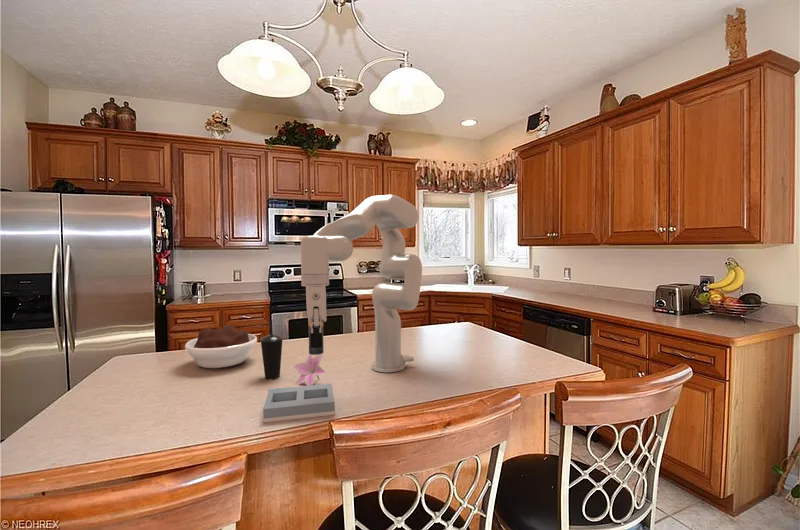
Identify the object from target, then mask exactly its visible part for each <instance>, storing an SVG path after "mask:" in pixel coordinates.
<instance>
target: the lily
mask: <svg viewBox="0 0 800 530" xmlns="http://www.w3.org/2000/svg"><path fill="white" fill-rule="evenodd" d="M306 356H307V357H306V360H305V361H304V362H299V363H296V364H295V365H293V369H294V370H295V371H296V372H297V373H298V374H300V376H299V378H298V379H297V382H296V385H297V384H298V385H297V386H299V385H301V384H302V383H304V382H305V384H306V386H309V385H314V381H315V377H317V379H318V380H320V377H319V376H321V375H324V374H326V371H325V369H324V368H322V367H321V366H320V364H321V362H322V359H323V357H324V356H325V352H324V353H322V354H319V355H315V356H314V357H313V355H311V354H309V353H307V355H306Z"/></svg>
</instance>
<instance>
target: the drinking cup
mask: <svg viewBox="0 0 800 530" xmlns="http://www.w3.org/2000/svg"><path fill="white" fill-rule="evenodd" d="M269 322H270V328H269V329H270V334H267V335H264V336H263V337H261V338H260V339H259V342H260V345H261V354H262V362H263V370H264V371H263V372H264V379H265V378H266V379H265V380H268V379H272V380H276V378H277V379H279V378H280V377H281V364H282V351H283V340H284V336H282V335H279V334H273V333H274V332H273V329H274V328H273V319H270V320H269ZM278 377H279V378H278Z"/></svg>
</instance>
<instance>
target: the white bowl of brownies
mask: <svg viewBox="0 0 800 530" xmlns="http://www.w3.org/2000/svg"><path fill="white" fill-rule="evenodd" d="M257 343H258V337H257V336H256V335H254V334H252V333H248V332H247V331H246V329H240V330H238V329H237V328H236V327H235V326H233V325H231V324H226V325H223V326H222V327H220V328H219V329H212V328H206V329H201V330H200V331H199V332H198V335H197V337H196V338H193V339H190V340H188V341H187V342H186V343H185V345H184V349H185V351H186V352H187V354H188V355H189V357H191V358H193V360H194V362H195V363H196V365H197V366H199V367H202V368H205V369H219V368H220V369H222V367H223V368H228V367H233V366H237V365H239V364H241V363H243V362H245V361H246V360H247V359H248V358H249V355H250V353H251V351H253V349H254V348H255V346H256V344H257Z"/></svg>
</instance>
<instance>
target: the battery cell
mask: <svg viewBox="0 0 800 530" xmlns="http://www.w3.org/2000/svg"><path fill="white" fill-rule="evenodd" d="M307 321H308V320H307ZM312 322H314V320H312ZM319 322H320V320H319ZM313 325H314V324H313ZM310 333H311V323H310V322H309V321H308V354H311V355H312V356H317V355H319V354H322V353H324V354H325V351H324V350H325V349H324V321H322V319H321V333H322V347H321V348H311V347H310Z"/></svg>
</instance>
